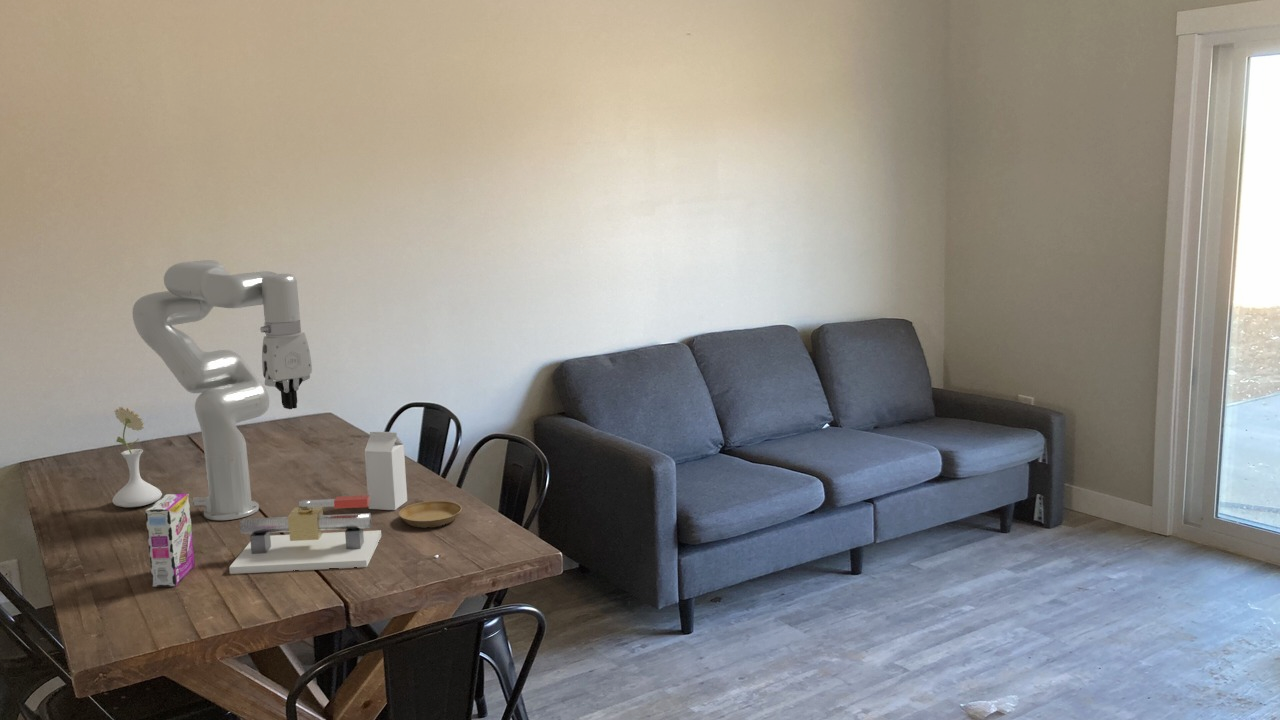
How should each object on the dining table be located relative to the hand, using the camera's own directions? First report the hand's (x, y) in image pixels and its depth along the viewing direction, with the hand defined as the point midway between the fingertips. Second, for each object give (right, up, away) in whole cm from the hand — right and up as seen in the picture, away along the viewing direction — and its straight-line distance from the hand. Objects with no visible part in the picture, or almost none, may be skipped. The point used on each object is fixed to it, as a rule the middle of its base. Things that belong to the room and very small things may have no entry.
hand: (290, 407), depth 227 cm
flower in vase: (-48, -26, +26) cm, 61 cm away
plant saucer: (+30, -28, +10) cm, 42 cm away
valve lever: (+14, -21, -12) cm, 28 cm away
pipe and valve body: (+8, -30, -11) cm, 33 cm away
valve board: (+8, -31, -11) cm, 34 cm away
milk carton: (+17, -26, +21) cm, 37 cm away
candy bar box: (-16, -34, -22) cm, 44 cm away
